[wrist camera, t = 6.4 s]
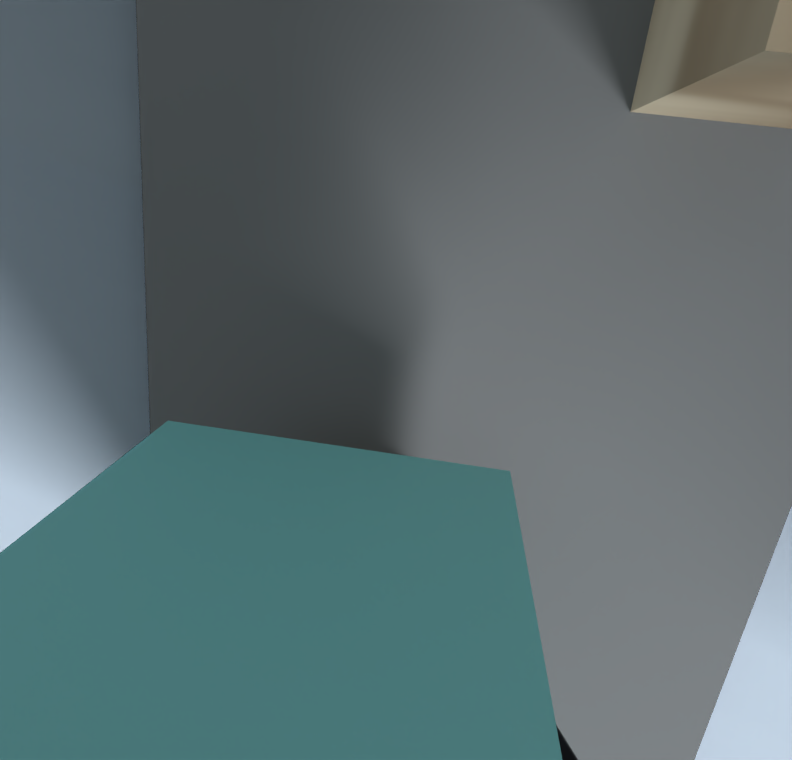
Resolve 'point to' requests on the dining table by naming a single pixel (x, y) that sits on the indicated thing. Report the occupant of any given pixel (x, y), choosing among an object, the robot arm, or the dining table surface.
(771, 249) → the mat
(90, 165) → the dining table surface
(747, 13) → the tan block
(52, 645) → the teal rectangular block
